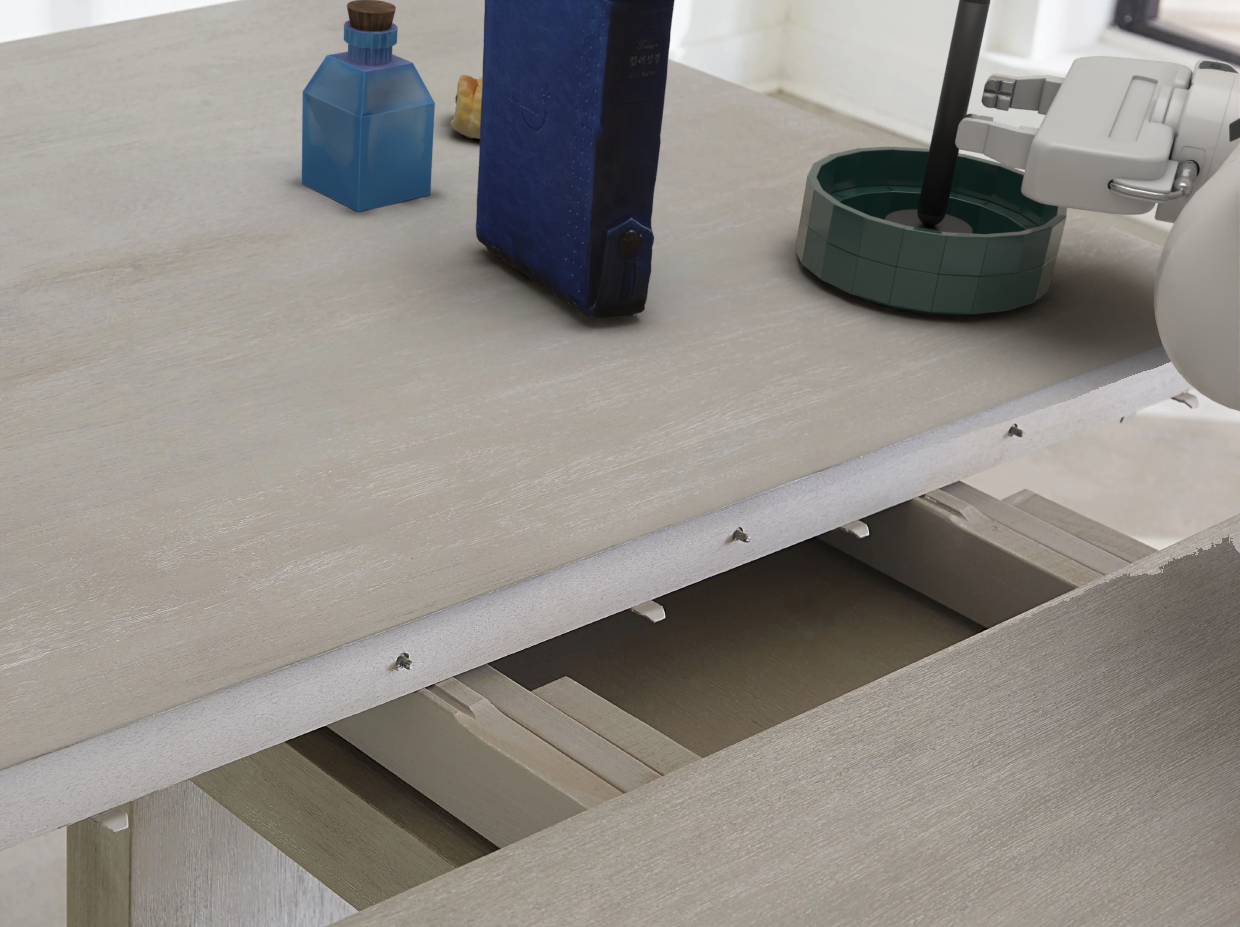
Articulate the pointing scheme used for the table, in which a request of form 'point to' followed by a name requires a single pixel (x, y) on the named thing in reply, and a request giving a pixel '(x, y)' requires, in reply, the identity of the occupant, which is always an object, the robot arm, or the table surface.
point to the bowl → (927, 234)
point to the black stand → (949, 124)
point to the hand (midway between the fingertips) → (972, 108)
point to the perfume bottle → (368, 118)
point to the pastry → (468, 107)
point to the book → (573, 144)
